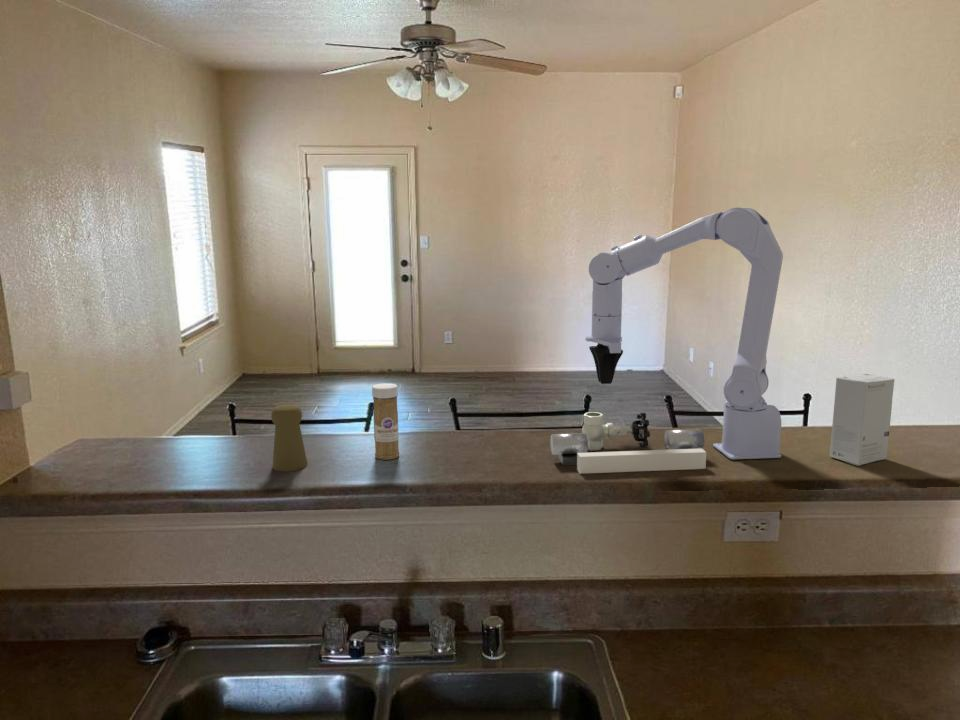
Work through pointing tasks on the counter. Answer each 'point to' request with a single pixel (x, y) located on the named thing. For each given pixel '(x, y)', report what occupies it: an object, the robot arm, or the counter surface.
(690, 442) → the pipe stubs
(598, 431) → the valve
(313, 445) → the counter surface
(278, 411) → the cork
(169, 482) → the counter surface
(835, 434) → the skincare box
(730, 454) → the robot arm
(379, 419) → the sprinkles bottle
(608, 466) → the bar
